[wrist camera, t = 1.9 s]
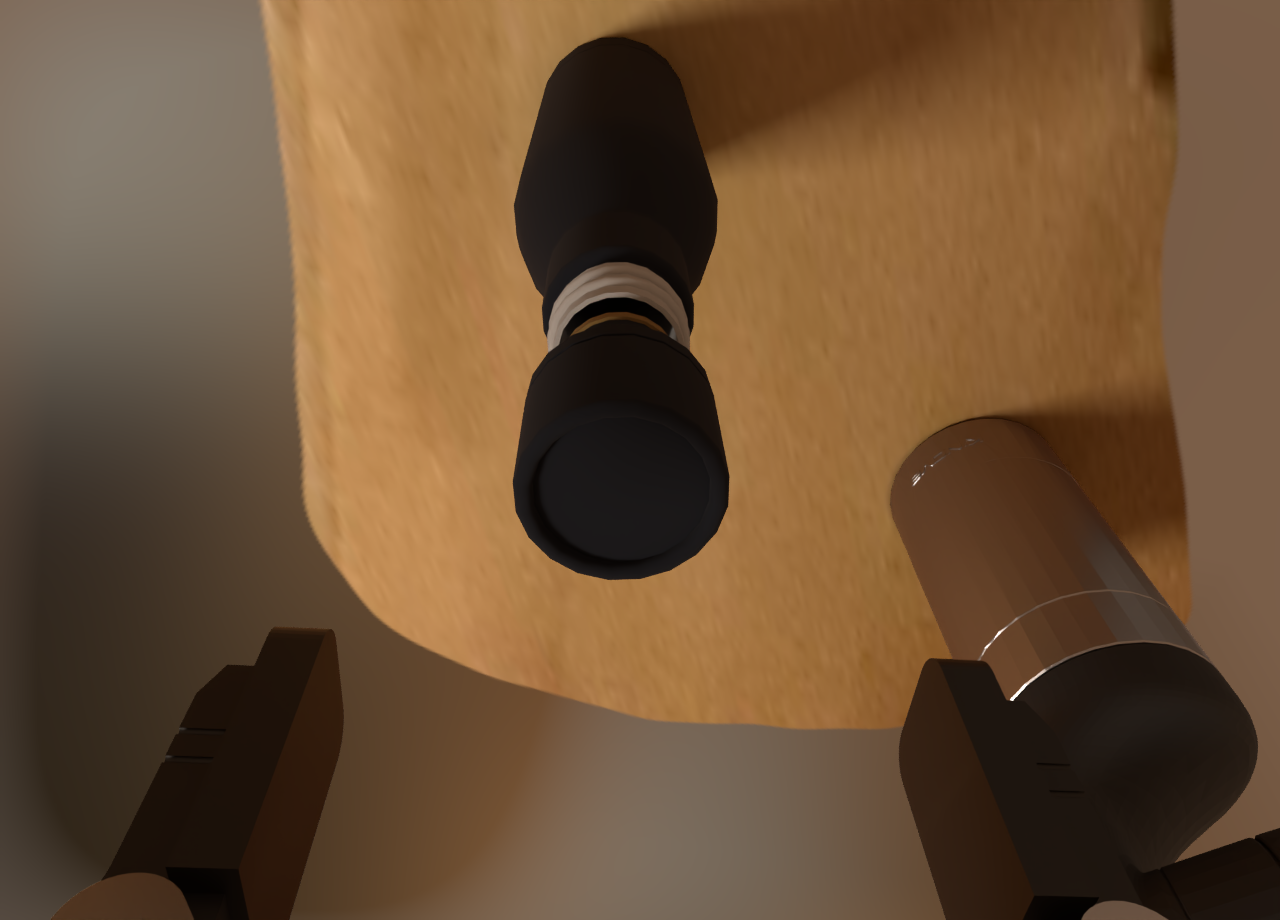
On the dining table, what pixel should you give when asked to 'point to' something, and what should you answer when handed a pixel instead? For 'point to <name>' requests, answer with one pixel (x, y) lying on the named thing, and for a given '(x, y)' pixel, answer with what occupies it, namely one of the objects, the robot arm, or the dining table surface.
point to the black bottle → (618, 320)
